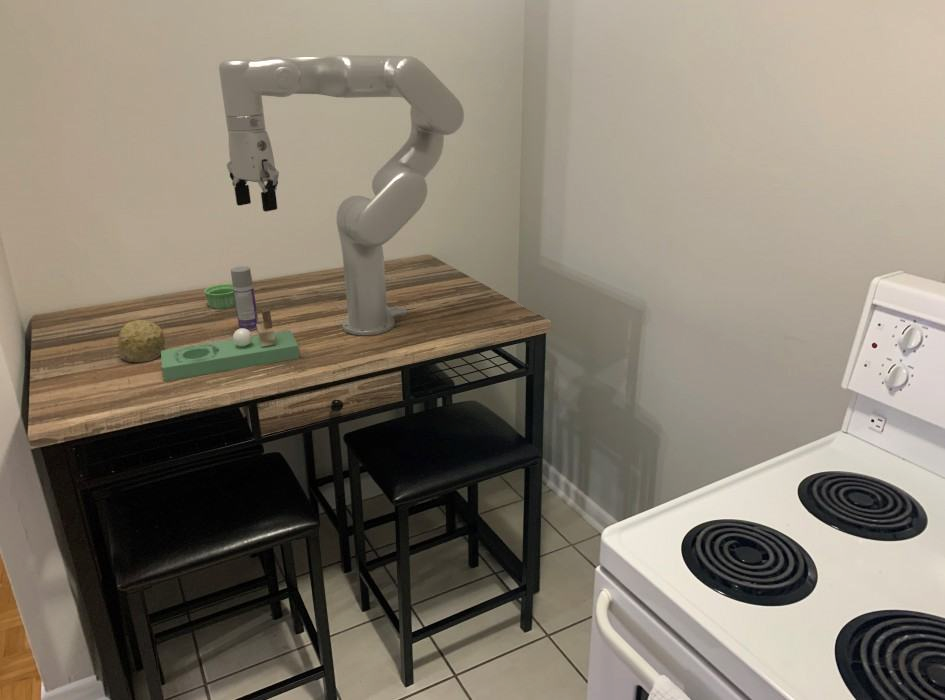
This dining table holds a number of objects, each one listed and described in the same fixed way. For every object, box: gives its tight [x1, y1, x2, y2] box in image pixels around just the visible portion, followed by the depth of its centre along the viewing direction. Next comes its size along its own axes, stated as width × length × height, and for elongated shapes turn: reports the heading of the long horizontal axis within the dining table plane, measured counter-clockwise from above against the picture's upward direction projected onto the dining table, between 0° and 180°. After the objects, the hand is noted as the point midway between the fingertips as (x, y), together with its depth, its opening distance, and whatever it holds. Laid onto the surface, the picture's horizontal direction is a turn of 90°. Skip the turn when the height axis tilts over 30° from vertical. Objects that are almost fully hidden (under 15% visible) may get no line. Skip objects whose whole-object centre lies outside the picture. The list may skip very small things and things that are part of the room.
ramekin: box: [204, 283, 236, 310], centre depth 195 cm, size 9×9×4 cm
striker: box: [256, 307, 276, 347], centre depth 161 cm, size 3×6×7 cm, turn 23°
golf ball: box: [232, 328, 253, 347], centre depth 160 cm, size 4×4×4 cm
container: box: [230, 265, 260, 332], centre depth 177 cm, size 5×5×15 cm
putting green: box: [160, 329, 300, 382], centre depth 161 cm, size 28×10×3 cm, turn 112°
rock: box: [117, 319, 166, 363], centre depth 164 cm, size 10×11×10 cm
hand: (256, 207), depth 156 cm, fingers open, 9 cm apart
